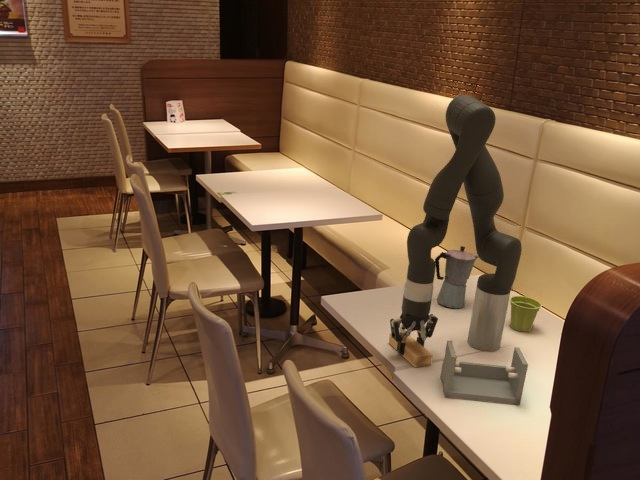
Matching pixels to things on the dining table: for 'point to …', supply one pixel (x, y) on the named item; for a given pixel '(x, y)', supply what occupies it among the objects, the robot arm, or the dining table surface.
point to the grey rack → (483, 378)
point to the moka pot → (455, 276)
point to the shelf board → (414, 352)
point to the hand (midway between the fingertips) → (409, 352)
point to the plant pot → (523, 312)
